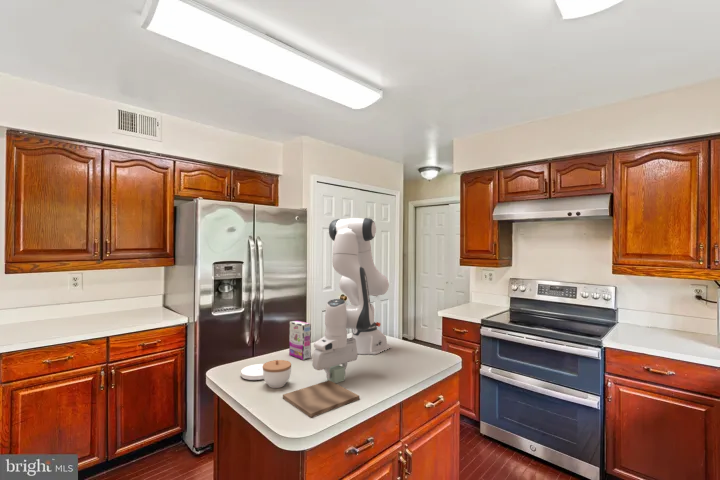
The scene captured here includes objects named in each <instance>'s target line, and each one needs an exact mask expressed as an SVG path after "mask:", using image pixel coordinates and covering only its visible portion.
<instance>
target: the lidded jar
mask: <svg viewBox="0 0 720 480" xmlns="http://www.w3.org/2000/svg"><path fill="white" fill-rule="evenodd" d="M263 364H264V365H263V377H264V379H263V381H264V382H265V383H266V385H268V387H269V388H271V389H278V388H279V389H280V388H282V387H284V386H285V385H286V384H287V382H289V380H290V377H291V372H292V363H291V361H289V360H286V359H285V360H284V359H276V360H274V359H273V360H269V361H266V362H265V363H263Z"/></svg>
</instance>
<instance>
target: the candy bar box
mask: <svg viewBox="0 0 720 480" xmlns="http://www.w3.org/2000/svg"><path fill="white" fill-rule="evenodd" d="M288 337H289V340H288V341H289V345H288V347H289V348H288V349H289V350H288V351H289V353H288V355H289V356H290V357H293V358H295V359H298V360H301V361H305V360H309V359H311V358H312V354H311V353H312V352H311V351H312V349H311V347H312V323H310V322H305V321H301V320H292V321H289V336H288Z"/></svg>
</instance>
